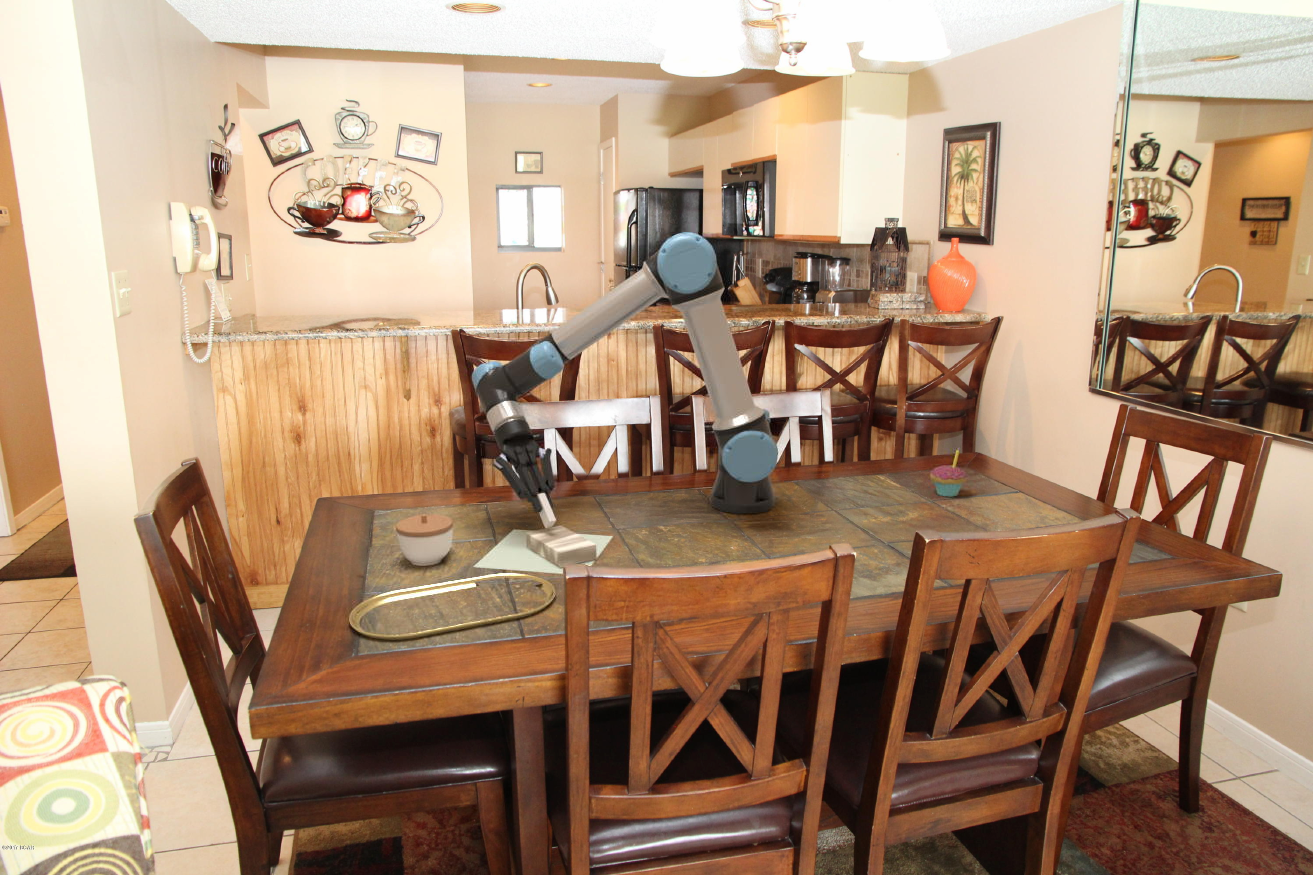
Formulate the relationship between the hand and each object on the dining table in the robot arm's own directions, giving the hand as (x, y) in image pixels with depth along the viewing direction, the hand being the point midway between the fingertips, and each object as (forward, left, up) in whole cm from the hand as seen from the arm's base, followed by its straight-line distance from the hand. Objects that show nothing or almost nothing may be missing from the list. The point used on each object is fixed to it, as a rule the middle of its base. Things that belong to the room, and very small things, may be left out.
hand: (550, 524), depth 179 cm
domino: (+3, -3, -4) cm, 5 cm away
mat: (+1, +1, -6) cm, 6 cm away
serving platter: (+8, +29, -7) cm, 31 cm away
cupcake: (-82, -57, -6) cm, 100 cm away
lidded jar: (+23, +9, -6) cm, 25 cm away
